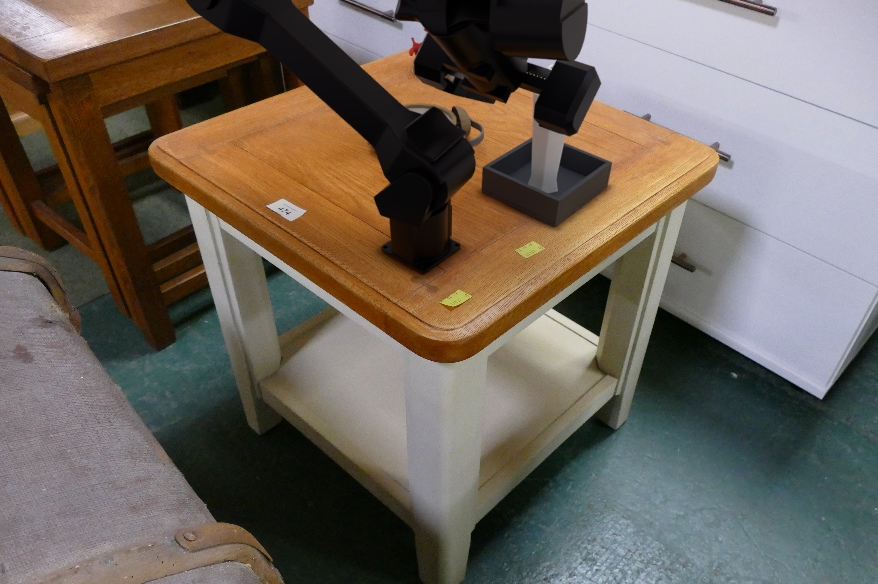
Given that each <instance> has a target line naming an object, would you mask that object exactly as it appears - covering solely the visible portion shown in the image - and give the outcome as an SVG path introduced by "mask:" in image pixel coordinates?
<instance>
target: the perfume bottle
mask: <svg viewBox="0 0 878 584" xmlns="http://www.w3.org/2000/svg"><path fill="white" fill-rule="evenodd" d="M554 64H555V63H552V64H550V65H549V66H547V67H546V68H547V69H550V70H552V68H553V66H554ZM532 94H533V96H532V131H531V132H532V136H531V138H532V168H531V178H530V180H529V183H528V185H531V186H533V187H535V188H537V189H540V190H542V191H544V192H546V193H553V192H557V191H558V189H557V181H556V178H557V173H558V168H559V164H560V159H561V154H562V150H563V145H564V143H565V140H566V135H563V134H559V133H556V132H553V131H550V130H548V129H545V128H542V127H539V123H537V122H536V120H535V119H534V118H533V117H534V107H535V103H536V101H537V99H538V97H539V94H536V93H533V92H532Z"/></svg>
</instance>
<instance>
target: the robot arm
mask: <svg viewBox="0 0 878 584" xmlns="http://www.w3.org/2000/svg"><path fill="white" fill-rule="evenodd" d="M185 1H186V3H187V5H188V6H189V7H190V8H191V9H192V10H193V11H194V12H195V13H196V14H197V15H198V16H199V17H201V18H202V19H204V20H206V21H207V22H208V23H209V24H211V25H213V26H214V27H216V29H219V30H220V31H221V32H223V33H224V34H226V35H231V36H232V37H236V38H239V39H243V40H245V41H248V42H252V43H255V44H257V45H259V46H261V47H262V48H263V49H264V50H266V51H267V53H269V54H270V55H271V56H272V57H273V58H274V59H275V60H277V61H278V62H279V63H280V64H281V65H282V66H283V67H285V68H286V69H287V70H288V71H289V72H290V73H291V74H292V75H293V76H294V77H296V78H297V79H298V80H299V81H300V82H301V83H302V85H304V86H306V87H307V89H309V90H310V91H311V92H312V94H314V95H315V96H317V98H319V99H320V100H321V102H323V103H324V104H325V105H326V106H328V107H329V109H331V110H332V111H333V112H334V113H335V114H336V115H337V116H339V117H340V118H341V119H342V120H343V121H344V122H345V123H347V124H348V125H349V127H351V128H352V130H354V131H355V132H356V133H357V134H359V135H360V136H361V137H362V139H364V140H365V141H366V143H367V142H369V143H370V144H371V145H370V146H371V147H372V148H373V149H374V152H375V155H376V157H377V160H378V163H379V166H380V169H381V171H382V174H383V176H384V177H385V179H386V180H387V182H388V184H387V185H385V186H384V188H382V189H381V190H380V191H378V192H377V193H376V194H375V195H374V196H373V200H374V203H375V207H376V209H377V211H378V214H379V216H381V217H382V218H383V217H384V218H387V219H389V234H390V235H389V236H390V240H388V241H387V242H386V243H384V244H382V245H381V247H380V251H381V252H382V253H383V254H385V255H387V256H388V257H390V258H392V259H394V260H395V261H398V262H399V263H400V264H403V265H404V266H407V267H408V268H410V269H412V270H413V271H415V272H416V273H419V274H420V275H425V274H427V273H429V272H431V271H432V270H433V269H435V268H436V267H437V266H439V265H440V264H442V263H443V262H445V261H447V259H449V258H451V257H453V255H456V253H458V252H459V251H460V250H462V244H461V243H460V242H458V241H456V240H455V239H453V238H451V237H452V235H453V205H452V198H453V197H454V196H455V195H456V194H457V193H458V192H459V191H460V190H461V189H462V188H463V187H464V186H465V185H466V184H467V183H468V182H469V181H470V180H471V179H472V178H473V177H474V174H475V172H476V167H477V162H476V161H477V160H476V157H475V154H476V151H475V149H474V147H472V145H471V144H470V143H469V142H468V141H469V140H468V138H467V139H466V138H464V137H463V136H464V135H466V131H465V130H462V129H460V128H458V127H457V126H456V125H454V124H453V123H452V122H451V121H450V120H449V119H448V118H447V116H446V115H445V114H444V113H443V112H442V111H441V110H440V109H438V108H437V107H435V106H433V107H431V108H430V109H429V110H427V111H426V112H425V113H424V114H420V113H417V112H414V111H411V110H409V109H407V108H405V107H404V106H403V105H404V104H402V103H401V102H400V101H398V99H396V98H395V97H394V96H393V95H392V94H391V93H390V92H389V91H388V90H387V89H386V88H385V87H384V86H383V85H381V84H380V83H379V82H378V81H377V80H376V79H375V78H374V77H373V76H371V75H370V74H369V73H368V72H367V71H366V69H364V68H363V67H362V66H361V65H360V64H359V63H358V62H356V61H355V60H354V59H353V58H352V57H351V56H350V55H349V54H347V52H346V51H344V50H343V49H342V48H341V47H340V46H339V45H338V44H337V43H336V42H335V41H334V40H333V39H331V37H329V36H328V35H327V34H326V33H325V32H324V31H322V29H321V28H320V27H318V25H316V24H315V23H314V22H313V21H312V20H311V19H310V18H309V17H307V15H305V14H304V13H303V12H302V11H301V10H300V9H299V8H298V7H297V6H296V5H295V4H294V2H293V0H185ZM393 18H394V19H395V20H396V21H398V22H414V23H419V24H420V25H421V26H422V27H423V29H424V28H425V29H426V30H427V32H425V36H424V38H423V39H422V41H421V42H422V44H421V46H420V48H419V50H418V52H417V54H416V55H415V57H414V58H413V64H412V65H413V74H414V76H415V77H416V78H417V79H418V80H419V81H420V82H421V83H422V84H425V85H427V86H429V87H433V88H434V89H436V90H438V91H441V92H444V93H446V94H449V95H452V96H456V97H460V98H464V99H467V100H471V101H472V100H473V101H477V102H481V103H484V104H490V105H494V104H495V103H496V101H497V102H500V103H503V104H505V105H507V103H508V102H509V100H510V97H511V95H512V94H513V93H516V92H517V90H518V89H521V90H525V91H528V92H529V93H532V94H533V93H536V94H539V97H538V99H537V101H536V103H535V107H534V117H533V116H532V119H533V118H534V119H535V120H536V122H537V123H539V127H542V128H545V129H548V130H550V131H553V132H556V133H559V134H563V135H566V136H567V137H569V138H570V137H572V136H574V135H576V134H578V133H579V130H580V128H581V127H582V124H583V122H584V120H585V118H586V116H587V114H588V112H589V110H590V108H591V106H592V104H593V102H594V100H595V98H596V96H597V94H598V91H599V90H600V88H601V86H602V82H601V78H600V76H599V73H598V71H597V70H596V67H595V66H594V65H590V64H587V63H584V62H580V61H578V60H576V59H577V58H578V57H579V55H580V54H581V51H582V49H583V47H584V43H585V40H586V34H587V28H588V19H589V4H588V2H586V0H397V3H396V7H395V10H394V14H393ZM529 59H535V60H548V61H555V62H554V63H553V64H554V66H553V68H552V70H550V69H547V68H548V67H544V66H541V65H538V64H534V63H532V62H529V61H528V60H529ZM566 136H565V137H566Z"/></svg>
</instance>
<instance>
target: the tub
mask: <svg viewBox="0 0 878 584" xmlns="http://www.w3.org/2000/svg"><path fill="white" fill-rule="evenodd" d="M612 166H613V162H612V161H610V160H607V159H605V158H603V157H600V156H598V155H596V154H593V153H591V152H588V151H585V150H583V149H581V148H578V147H575V146H573V145H571V144H568V143H566V142H564V145H563V150H562V154H561V159H560V164H559V168H558V173H557V178H556V181H557V189H558V191H557V192H553V193H546V192H544V191H542V190H540V189H537V188H535V187H533V186H531V185H528V183H529V180H530V178H531V168H532V137H530V138H528V139H526V140H524V141H523V142H521V143H520V144H518V145H516V146H514V147H513V148H511V149H509V150H508V151H506V152H505V153H503V154H501V155H500V156H498V157H497V158H495V159H493V160H491V161H490V162H488V163H486V164H484V165H483V166H482V168H481V169H482V171H481V172H482V173H481V193H482V194H483V195H486V196H488V197H490V198H492V199H494V200H497V201H499V202H501V203H503V204H505V205H506V206H507V205H508V206H509V207H511V208H513V209H516V210H518V211H520V212H522V213H524V214H526V215H529V216H530V217H533V218H534V219H537V220H539V221H541V222H543V223H546V224H547V225H550V226H551V227H553V228H556V227H558V226H559V225H560V224H561V223H563V222H564V221H565V220H567V219H568V218H570V216H572V215H573V214H574V213H576V212H577V211H579V209H581V208H582V207H584V206H585V205H587V203H589V202H590V201H592V200H593V199H594V198H595V197H597V196H598V195H599V194H600V193H602V192H603V191H605V190H606V189H607V188H608V187H609V182H610V176H611V171H612Z"/></svg>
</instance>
